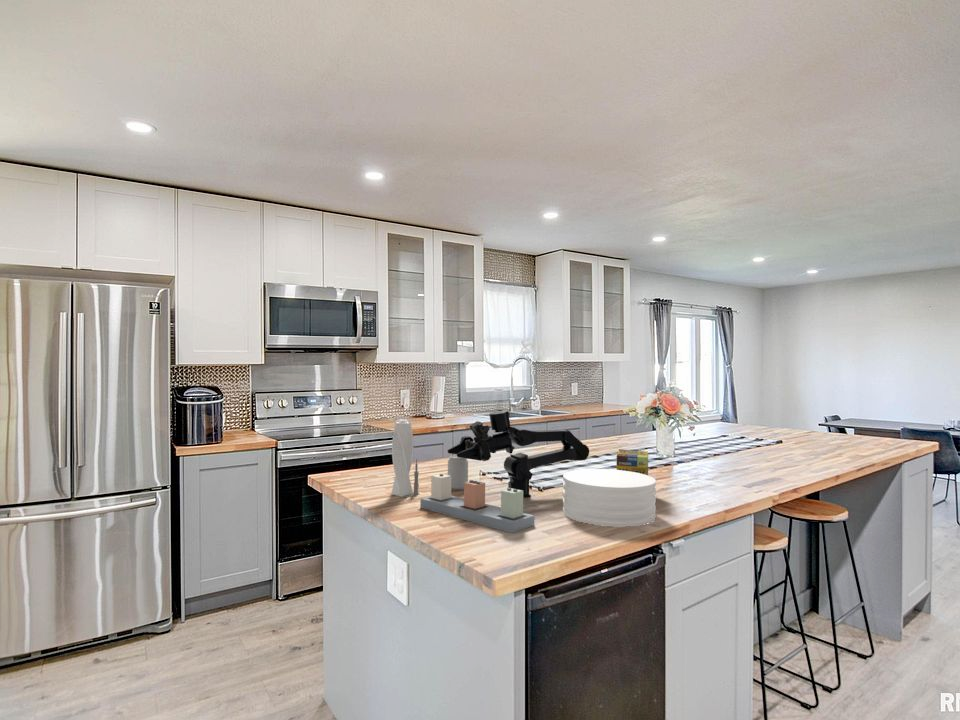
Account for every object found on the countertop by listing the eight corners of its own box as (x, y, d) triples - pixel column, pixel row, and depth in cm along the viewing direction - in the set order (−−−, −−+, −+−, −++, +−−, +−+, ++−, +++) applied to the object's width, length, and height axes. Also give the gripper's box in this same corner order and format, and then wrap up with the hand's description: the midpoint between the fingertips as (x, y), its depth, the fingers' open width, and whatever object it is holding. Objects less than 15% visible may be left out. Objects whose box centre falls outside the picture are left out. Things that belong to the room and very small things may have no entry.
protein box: (615, 500, 185) (616, 455, 185) (618, 491, 200) (618, 448, 200) (647, 503, 182) (648, 457, 182) (647, 493, 197) (648, 450, 197)
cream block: (431, 497, 174) (431, 474, 174) (441, 495, 177) (441, 472, 177) (440, 500, 171) (441, 476, 171) (451, 497, 174) (451, 474, 174)
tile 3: (463, 506, 164) (464, 481, 164) (474, 503, 167) (474, 478, 167) (474, 508, 161) (475, 483, 161) (484, 506, 164) (485, 481, 164)
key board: (420, 507, 173) (420, 498, 173) (443, 502, 180) (443, 493, 180) (512, 533, 148) (512, 522, 148) (534, 525, 155) (534, 515, 155)
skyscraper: (402, 499, 184) (403, 417, 185) (386, 495, 189) (387, 415, 190) (419, 495, 191) (420, 415, 191) (403, 491, 196) (404, 413, 196)
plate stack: (544, 513, 169) (545, 476, 169) (595, 498, 189) (595, 465, 189) (624, 534, 149) (625, 492, 149) (672, 515, 169) (672, 478, 169)
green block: (500, 515, 154) (501, 488, 154) (510, 512, 158) (511, 486, 158) (513, 518, 151) (513, 491, 151) (523, 515, 155) (523, 488, 155)
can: (465, 491, 196) (465, 458, 196) (445, 490, 198) (445, 457, 198) (469, 487, 203) (470, 454, 203) (450, 485, 205) (450, 454, 205)
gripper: (480, 418, 195) (439, 427, 190) (501, 422, 178) (457, 432, 172) (485, 448, 196) (444, 458, 190) (507, 455, 179) (463, 466, 173)
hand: (452, 453), depth 181 cm, fingers open, 9 cm apart
